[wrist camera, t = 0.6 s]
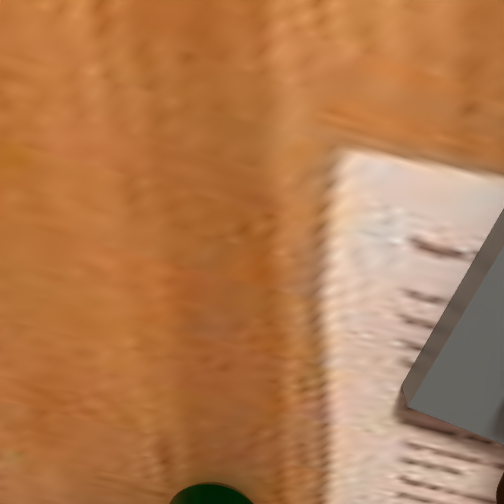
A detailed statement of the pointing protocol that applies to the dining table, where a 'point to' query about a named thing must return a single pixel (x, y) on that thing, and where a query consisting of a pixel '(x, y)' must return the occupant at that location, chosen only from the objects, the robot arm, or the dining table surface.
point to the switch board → (467, 351)
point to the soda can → (210, 495)
